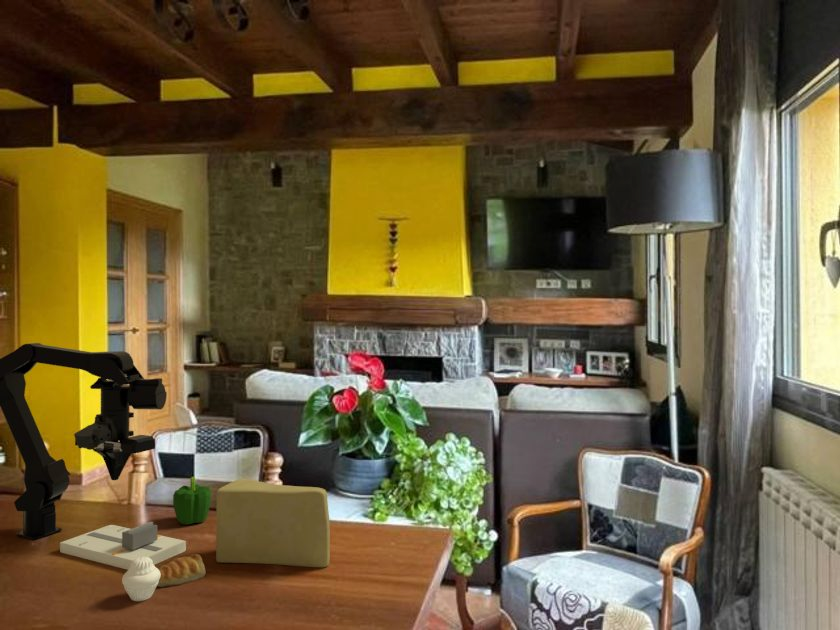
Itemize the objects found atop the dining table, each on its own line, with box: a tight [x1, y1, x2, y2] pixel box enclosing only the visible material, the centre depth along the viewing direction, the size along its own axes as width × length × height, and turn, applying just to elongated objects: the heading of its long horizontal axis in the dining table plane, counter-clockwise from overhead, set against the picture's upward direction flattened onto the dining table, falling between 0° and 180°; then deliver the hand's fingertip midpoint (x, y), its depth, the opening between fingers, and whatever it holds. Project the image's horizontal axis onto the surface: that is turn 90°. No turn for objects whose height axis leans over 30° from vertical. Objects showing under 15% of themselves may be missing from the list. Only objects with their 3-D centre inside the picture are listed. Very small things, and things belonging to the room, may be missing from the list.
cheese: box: [215, 478, 331, 568], centre depth 126 cm, size 22×10×15 cm, turn 76°
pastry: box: [157, 553, 206, 588], centre depth 117 cm, size 9×7×4 cm
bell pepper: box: [172, 476, 212, 526], centre depth 149 cm, size 8×8×10 cm
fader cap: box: [122, 521, 158, 550], centre depth 128 cm, size 3×6×4 cm, turn 155°
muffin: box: [121, 557, 161, 602], centre depth 110 cm, size 6×6×7 cm
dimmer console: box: [59, 524, 187, 571], centre depth 130 cm, size 22×12×2 cm, turn 65°
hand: (114, 479), depth 140 cm, fingers closed
